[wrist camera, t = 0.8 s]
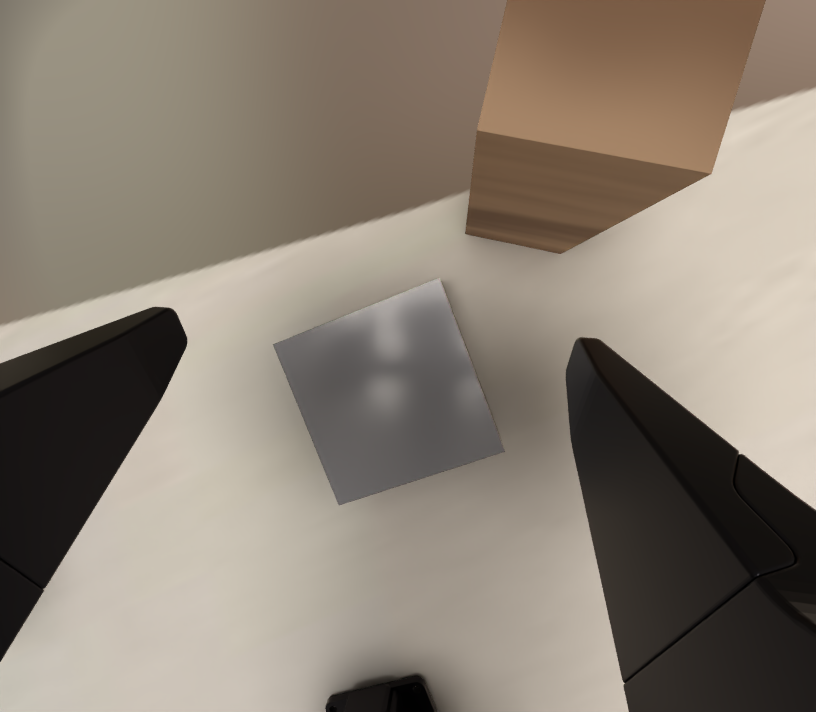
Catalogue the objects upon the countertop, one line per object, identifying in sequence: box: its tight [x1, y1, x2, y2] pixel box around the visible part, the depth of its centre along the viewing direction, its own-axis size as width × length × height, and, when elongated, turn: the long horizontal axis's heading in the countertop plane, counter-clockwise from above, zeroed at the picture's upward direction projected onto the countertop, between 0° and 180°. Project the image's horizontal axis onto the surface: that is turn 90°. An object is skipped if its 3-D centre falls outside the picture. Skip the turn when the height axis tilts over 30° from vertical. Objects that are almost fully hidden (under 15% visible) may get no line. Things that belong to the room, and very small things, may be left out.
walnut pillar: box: [465, 0, 766, 254], centre depth 15 cm, size 5×5×12 cm
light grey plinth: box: [273, 278, 505, 505], centre depth 21 cm, size 9×9×2 cm
